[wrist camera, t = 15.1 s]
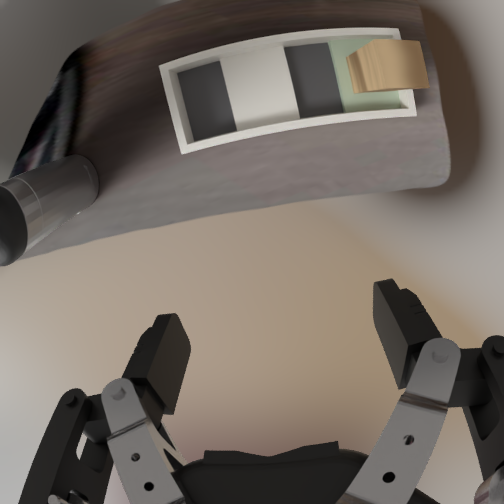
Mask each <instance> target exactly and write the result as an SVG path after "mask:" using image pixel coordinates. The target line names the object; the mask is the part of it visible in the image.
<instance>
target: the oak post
mask: <svg viewBox="0 0 504 504" xmlns="http://www.w3.org/2000/svg"><path fill="white" fill-rule="evenodd" d="M346 61H347V65H348V69H349V74H350V78H351V83H352V88H353V92H354V94H355V93H368V92H387V91H397V90H408V89H421V88H430V87H429V82H428V76H427V71H426V67H425V62H424V58H423V53H422V49H421V45H420V41H412V40H394V39H374V40H372V41H371V42H369V43H368V44H366V45H364V46H363V47H361V48H360V49H358V50H356V51H355V52H353V53H352V54H350V55H349V56H347V57H346Z"/></svg>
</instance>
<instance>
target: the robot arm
mask: <svg viewBox="0 0 504 504" xmlns="http://www.w3.org/2000/svg"><path fill="white" fill-rule="evenodd" d="M98 189H99V179H98V175H97V172H96V170H95V168H94V166H93V164H92V163H91V162H90V161H89V160H88V159H87V158H85V157H84V156H81V155H70V156H67V157H64V158H61V159H59V160H56V161H53V162H50V163H47V164H45V165H42V166H40V167H37V168H35V169H32V170H30V171H27V172H25V173H23V174H20V175H18V176H16V177H13V178H11V179H9V180H7V181H5V182H3V183H0V266H6V265H10V264H11V263H13V262H14V261H15V260H17V259H18V258H19V257H20V256H22V255H23V254H24V253H25V252H27V251H28V250H29V249H30V248H32V247H33V246H34V245H36V244H37V243H38V242H39V241H41V240H42V239H43V238H45V237H46V236H47V235H49V234H50V233H51V232H53V231H54V230H55V229H57V228H58V227H60V226H61V225H62V224H64V223H65V222H67V221H68V220H70V219H71V218H72V217H74V216H75V215H77V214H78V213H80V212H81V211H83V210H84V209H86V208H87V207H89V206H90V205H91V204H92V203H93V202H94V201H95V199H96V197H97V194H98ZM373 318H374V324H375V328H376V330H377V332H378V335H379V338H380V340H381V343H382V345H383V348H384V351H385V353H386V356H387V359H388V361H389V364H390V367H391V369H392V372H393V375H394V378H395V381H396V384H397V386H398V389H403V388H406V390H405V392H404V394H403V395H401V397H400V399H399V401H398V403H397V405H396V407H395V409H394V411H393V413H392V415H391V417H390V419H389V421H388V423H387V425H386V427H385V428H384V430H383V432H382V434H381V436H380V438H379V439H378V441H377V443H376V445H375V446H374V448H373V450H372V452H371V453H370V455H367V454H364V453H361V452H358V451H354V450H347V449H339V446H338V441H335V442H329V443H323V444H316V445H309V446H303V447H300V448H297V449H294V450H291V451H288V452H284V453H281V454H278V455H274V456H270V457H267V456H260V455H255V454H249V453H244V452H239V451H209V450H206V451H205V452H204V458H203V459H200V460H196V461H193V462H191V463H187V461H186V460H185V459H184V458H183V456H182V455H181V453H180V452H179V450H178V448H177V446H176V445H175V443H174V441H173V439H172V438H171V436H170V434H169V432H168V430H167V429H166V427H165V425H164V423H163V422H162V421H161V419H162V416H163V414H168V415H173V414H174V411H175V407H176V403H177V400H178V396H179V392H180V389H181V385H182V381H183V378H184V374H185V371H186V367H187V364H188V360H189V357H190V352H191V345H190V341H189V339H188V336H187V334H186V332H185V330H184V328H183V326H182V323H181V321H180V319H179V317H178V315H177V314H175V313H172V314H162V315H158V316H157V317H156V320H155V322H154V324H153V326H152V327H149V328H148V329H147V330H146V331H145V332H144V333H143V334H142V336H141V337H140V339H139V342H138V343H137V346H136V348H135V350H134V354H132V356H131V358H130V360H129V363H128V365H127V367H126V369H125V371H124V373H123V375H122V378H120V379H116V380H113V381H112V382H110V383H109V384H108V385H106V387H105V388H104V389H103V392H102V393H101V394H97V395H92V396H86V394H85V393H84V392H83V391H82V390H81V389H78V388H75V389H71V390H69V391H67V392H66V393H65V394H64V395H63V396H62V397H61V399H60V401H59V403H58V405H57V407H56V409H55V411H54V413H53V416H52V418H51V420H50V422H49V424H48V427H47V429H46V431H45V433H44V436H43V438H42V440H41V443H40V445H39V448H38V450H37V453H36V455H35V458H34V460H33V463H32V466H31V468H30V471H29V474H28V477H27V479H26V482H25V485H24V488H23V491H22V494H21V497H20V500H19V503H18V504H103V503H104V499H105V495H106V491H107V486H108V483H109V479H110V475H111V471H112V467H113V463H114V464H115V466H116V469H117V471H118V475H119V477H120V480H121V482H122V485H123V487H124V490H125V492H126V494H127V497H128V499H129V501H130V504H440V503H438V502H436V501H435V500H434V499H432V498H430V497H429V496H428V495H426V494H424V493H423V492H421V491H420V490H418V489H417V488H415V487H416V485H417V484H418V482H419V480H420V478H421V476H422V473H423V471H424V469H425V467H426V465H427V463H428V460H429V458H430V456H431V454H432V451H433V449H434V446H435V444H436V441H437V439H438V436H439V434H440V431H441V428H442V425H443V423H444V420H445V417H446V414H447V411H448V408H449V407H462V408H463V412H464V414H465V417H466V420H467V423H468V426H469V429H470V433H471V436H472V439H473V442H474V446H475V449H476V453H477V456H478V460H479V464H480V468H481V472H482V476H483V480H484V482H483V483H482V484H481V485H480V486H479V487H478V489H477V491H476V493H475V497H474V504H504V337H503V336H499V335H495V336H491V337H488V338H487V339H486V340H485V341H484V343H483V345H482V347H481V348H470V349H461V348H459V347H458V346H457V344H456V343H454V342H453V341H452V340H449V339H446V338H443V337H442V336H441V334H440V332H439V331H438V329H437V327H436V326H435V324H434V322H433V321H432V319H431V317H430V316H429V314H428V313H427V312H426V309H425V308H424V306H423V305H422V304H421V302H420V300H419V299H418V297H417V295H416V294H414V293H413V292H411V291H410V290H408V289H407V288H406V289H401V290H400V289H399V287H398V286H397V284H396V283H395V281H394V280H393V279H387V280H383V281H378V282H374V286H373ZM82 433H83V434H85V435H86V436H87V440H86V443H85V446H84V449H83V452H82V455H81V458H80V460H79V459H78V457H77V454H76V449H77V446H78V443H79V441H80V438H81V435H82Z"/></svg>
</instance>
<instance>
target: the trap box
mask: <svg viewBox="0 0 504 504" xmlns="http://www.w3.org/2000/svg"><path fill="white" fill-rule="evenodd" d="M374 39H394V40H401V36H400V33H399V29H397V28H336V29H321V30H310V31H301V32H293V33H286V34H279V35H273V36H267V37H261V38H256V39H251V40H246V41H241V42H237V43H233V44H228V45H224V46H220V47H216V48H213V49H209V50H205V51H202V52H199V53H195V54H192V55H189V56H186V57H182V58H179V59H176V60H173V61H171V62H168V63H165V64H162V65H159V68H160V72H161V77H162V81H163V85H164V89H165V93H166V97H167V101H168V105H169V109H170V113H171V116H172V120H173V124H174V128H175V132H176V135H177V139H178V143H179V147H180V150H181V154H185V153H189V152H192V151H196V150H200V149H204V148H207V147H211V146H215V145H219V144H224V143H228V142H232V141H236V140H241V139H245V138H250V137H255V136H260V135H265V134H270V133H275V132H280V131H286V130H292V129H297V128H304V127H310V126H317V125H324V124H331V123H339V122H347V121H356V120H366V119H377V118H390V117H407V116H417V114H416V107H415V101H414V95H413V89H408V90H397V91H387V92H368V93H355V94H354V92H353V88H352V83H351V78H350V74H349V69H348V65H347V61H346V57H347V56H349V55H350V54H352V53H353V52H355V51H356V50H358V49H360V48H361V47H363V46H364V45H366V44H368V43H369V42H371V41H372V40H374Z"/></svg>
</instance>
